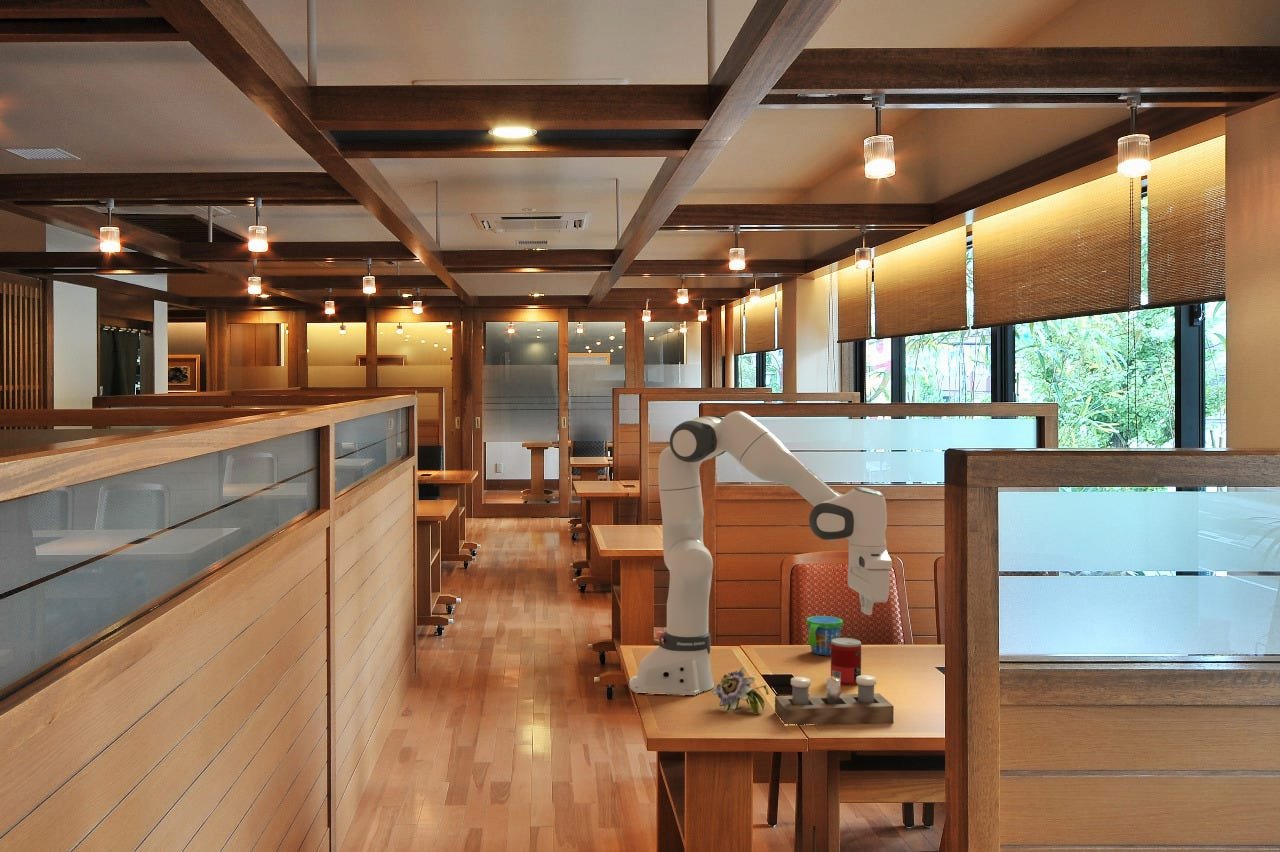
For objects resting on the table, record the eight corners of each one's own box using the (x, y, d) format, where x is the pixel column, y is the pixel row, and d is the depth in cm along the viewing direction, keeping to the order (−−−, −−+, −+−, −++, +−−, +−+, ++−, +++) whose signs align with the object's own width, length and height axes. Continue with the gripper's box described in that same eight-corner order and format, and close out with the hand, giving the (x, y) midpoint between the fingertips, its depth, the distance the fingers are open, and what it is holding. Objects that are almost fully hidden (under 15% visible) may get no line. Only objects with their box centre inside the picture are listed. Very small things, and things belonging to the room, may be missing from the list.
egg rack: (784, 726, 230) (784, 709, 230) (774, 712, 240) (775, 696, 240) (893, 722, 233) (893, 706, 232) (879, 709, 242) (879, 693, 242)
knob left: (793, 721, 233) (793, 682, 233) (788, 715, 238) (788, 677, 237) (812, 720, 233) (812, 682, 233) (807, 714, 238) (807, 676, 238)
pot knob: (828, 706, 234) (828, 680, 234) (824, 702, 238) (825, 676, 237) (841, 706, 235) (842, 679, 235) (837, 702, 238) (838, 676, 238)
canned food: (861, 686, 262) (861, 645, 261) (830, 684, 263) (830, 643, 263) (860, 678, 269) (861, 638, 269) (830, 676, 271) (831, 636, 271)
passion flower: (727, 733, 241) (700, 689, 244) (753, 714, 249) (727, 673, 252) (755, 717, 234) (727, 672, 237) (781, 698, 242) (754, 655, 245)
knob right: (859, 719, 235) (859, 680, 234) (853, 713, 239) (853, 675, 239) (878, 718, 235) (878, 680, 235) (872, 712, 240) (872, 675, 239)
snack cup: (825, 645, 305) (825, 612, 305) (854, 651, 298) (854, 618, 297) (794, 654, 294) (794, 620, 294) (823, 661, 287) (823, 626, 287)
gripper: (841, 549, 246) (840, 604, 246) (868, 563, 226) (867, 623, 226) (866, 549, 247) (865, 604, 247) (895, 562, 226) (894, 623, 227)
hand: (866, 613), depth 236 cm, fingers closed
